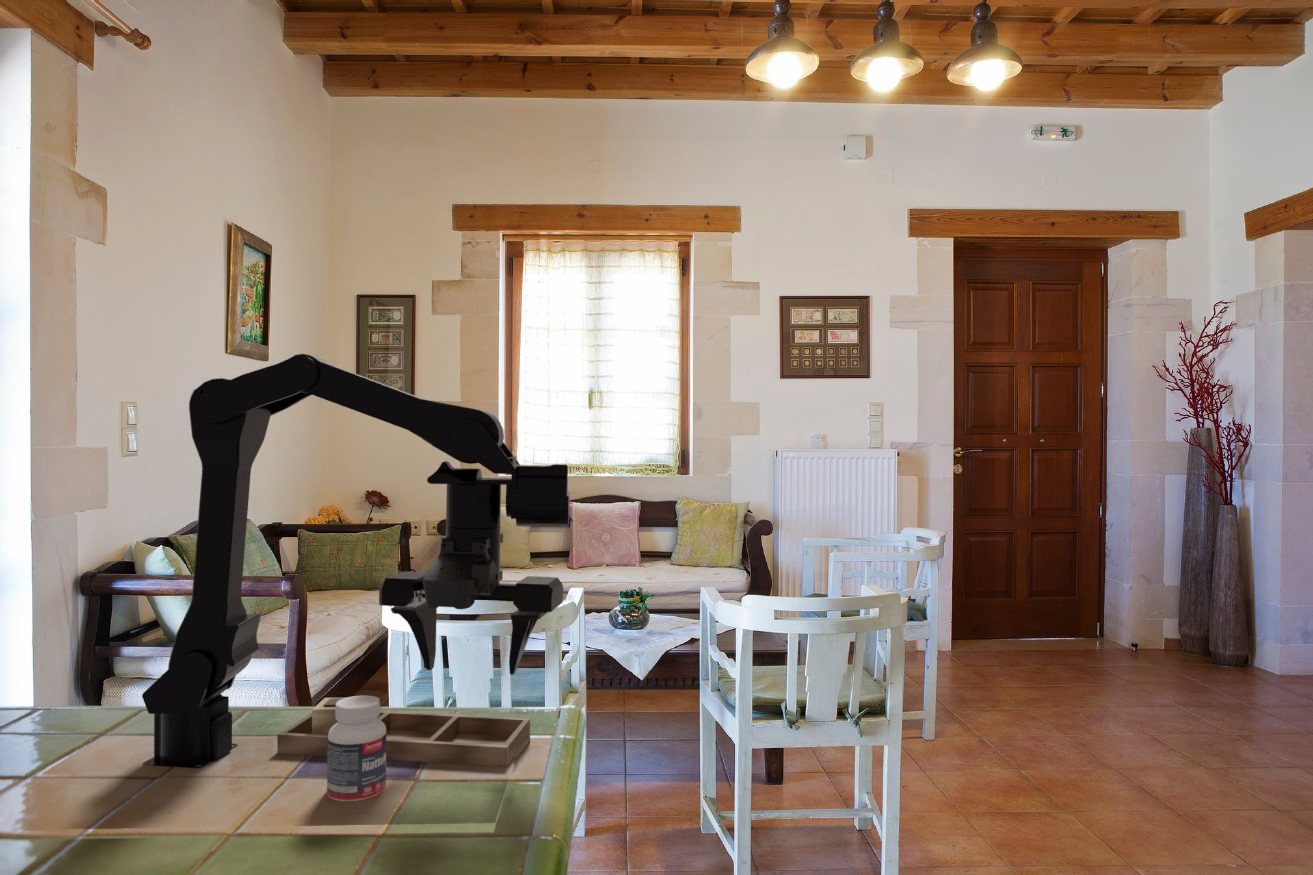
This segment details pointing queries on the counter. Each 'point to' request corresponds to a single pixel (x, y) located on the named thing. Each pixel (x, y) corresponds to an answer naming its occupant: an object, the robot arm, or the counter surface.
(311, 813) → the counter surface
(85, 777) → the counter surface
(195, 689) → the robot arm
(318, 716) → the tan hollow cube
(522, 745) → the bay tray
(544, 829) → the counter surface
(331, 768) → the pill bottle
